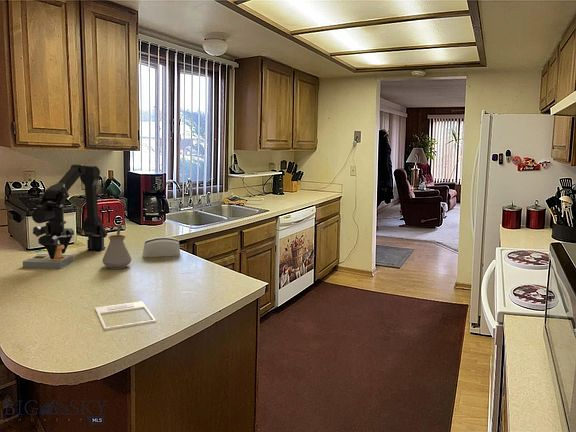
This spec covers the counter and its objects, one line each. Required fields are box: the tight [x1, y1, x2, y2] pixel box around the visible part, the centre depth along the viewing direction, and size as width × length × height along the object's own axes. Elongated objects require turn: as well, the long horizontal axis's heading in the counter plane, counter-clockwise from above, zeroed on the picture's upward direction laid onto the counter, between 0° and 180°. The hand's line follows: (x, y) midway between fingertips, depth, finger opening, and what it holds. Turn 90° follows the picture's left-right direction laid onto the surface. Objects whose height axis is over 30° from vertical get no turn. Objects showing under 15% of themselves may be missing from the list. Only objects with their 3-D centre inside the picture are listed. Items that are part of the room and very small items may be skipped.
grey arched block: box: [142, 236, 181, 258], centre depth 215 cm, size 17×5×10 cm, turn 111°
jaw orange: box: [54, 243, 64, 259], centre depth 194 cm, size 5×5×8 cm
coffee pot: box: [101, 224, 133, 270], centre depth 199 cm, size 21×12×15 cm, turn 15°
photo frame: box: [94, 300, 157, 331], centre depth 144 cm, size 15×1×18 cm
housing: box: [22, 253, 75, 270], centre depth 194 cm, size 15×12×3 cm
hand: (57, 256), depth 194 cm, fingers open, 9 cm apart
